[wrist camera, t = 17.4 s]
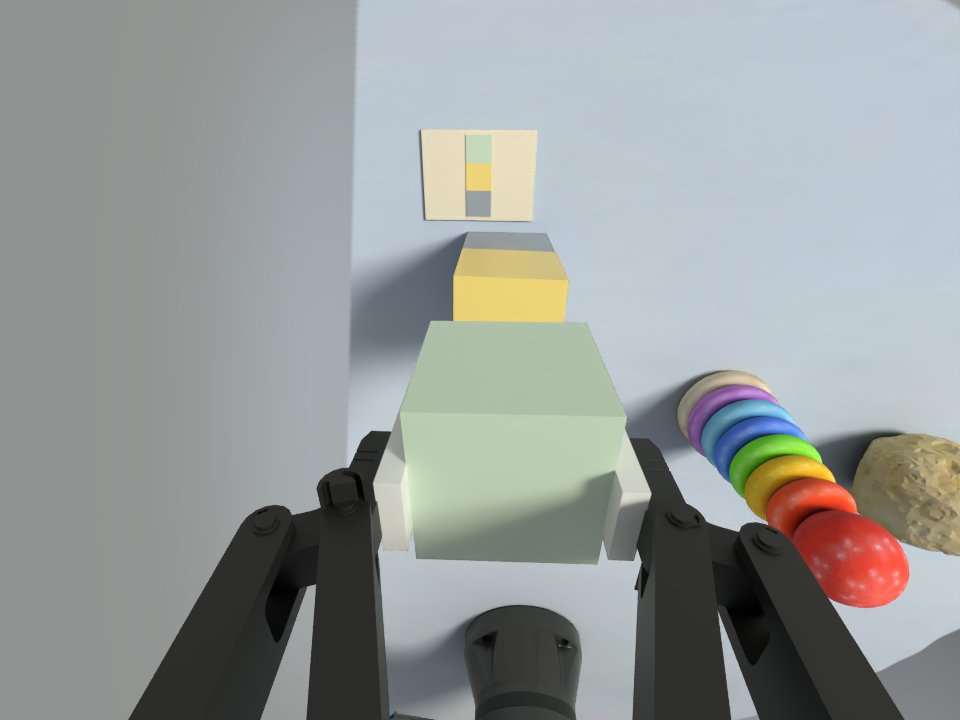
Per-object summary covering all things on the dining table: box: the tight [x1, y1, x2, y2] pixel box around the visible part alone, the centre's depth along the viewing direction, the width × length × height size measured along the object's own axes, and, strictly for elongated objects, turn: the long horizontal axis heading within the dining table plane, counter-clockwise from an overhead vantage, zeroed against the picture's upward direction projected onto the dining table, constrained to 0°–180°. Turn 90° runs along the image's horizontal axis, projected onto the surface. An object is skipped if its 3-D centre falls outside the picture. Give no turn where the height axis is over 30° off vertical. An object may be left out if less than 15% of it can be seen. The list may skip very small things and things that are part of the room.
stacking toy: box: [677, 371, 909, 608], centre depth 31 cm, size 8×8×19 cm
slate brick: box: [463, 232, 555, 252], centre depth 32 cm, size 6×6×6 cm
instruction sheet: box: [421, 129, 538, 221], centre depth 31 cm, size 6×8×1 cm
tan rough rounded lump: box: [849, 434, 960, 556], centre depth 37 cm, size 10×10×10 cm
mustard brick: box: [453, 248, 569, 323], centre depth 26 cm, size 6×6×6 cm
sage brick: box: [400, 321, 627, 565], centre depth 15 cm, size 6×6×6 cm
